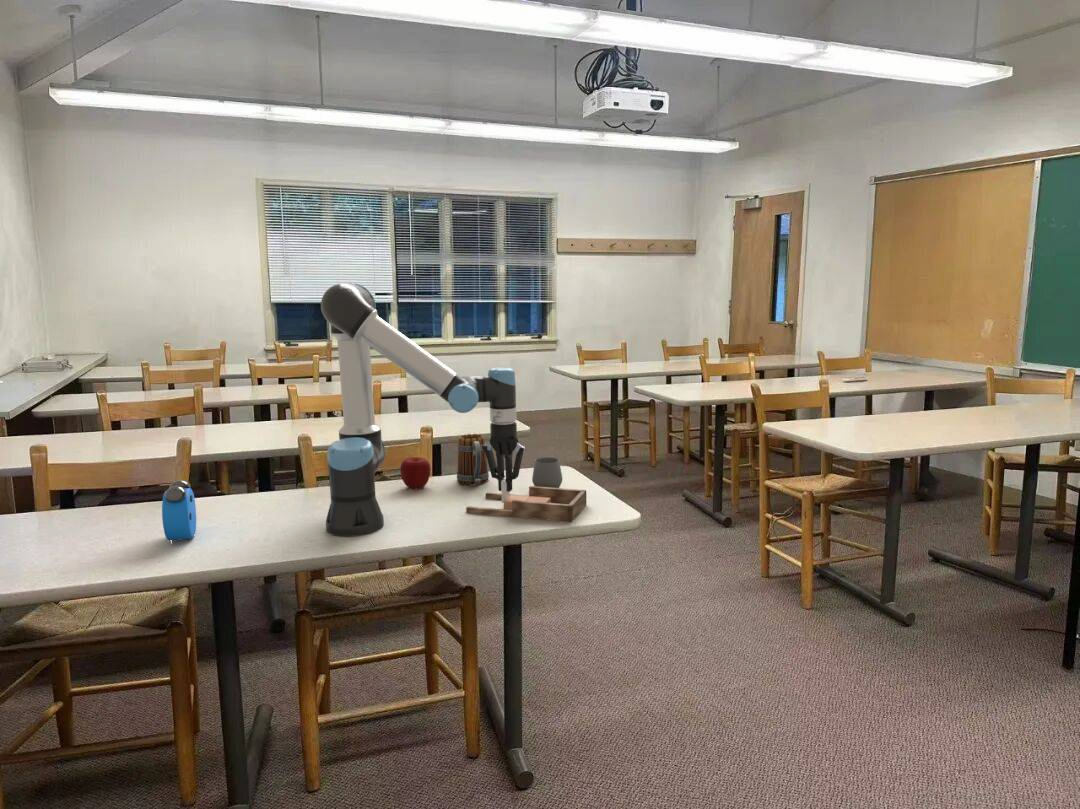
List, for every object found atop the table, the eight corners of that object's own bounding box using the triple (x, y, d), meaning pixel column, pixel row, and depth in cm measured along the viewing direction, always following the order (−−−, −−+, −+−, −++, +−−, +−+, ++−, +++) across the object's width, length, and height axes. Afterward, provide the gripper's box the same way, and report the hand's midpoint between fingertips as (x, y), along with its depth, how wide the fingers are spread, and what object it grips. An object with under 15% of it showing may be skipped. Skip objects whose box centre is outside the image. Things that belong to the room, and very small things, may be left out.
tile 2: (524, 512, 202) (524, 502, 202) (531, 506, 208) (531, 496, 207) (544, 514, 200) (544, 504, 200) (550, 507, 206) (550, 497, 205)
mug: (454, 478, 238) (452, 434, 236) (485, 475, 241) (483, 432, 239) (463, 491, 224) (461, 444, 221) (496, 487, 227) (494, 441, 224)
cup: (529, 495, 218) (529, 463, 216) (535, 486, 227) (534, 456, 225) (560, 496, 216) (559, 464, 214) (564, 487, 225) (564, 456, 223)
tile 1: (504, 511, 204) (503, 500, 203) (511, 504, 209) (511, 494, 209) (523, 512, 202) (523, 502, 201) (530, 506, 207) (530, 496, 207)
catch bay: (466, 512, 203) (465, 497, 202) (487, 496, 217) (486, 482, 216) (571, 522, 193) (571, 506, 192) (586, 505, 207) (586, 490, 206)
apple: (418, 493, 222) (416, 462, 220) (394, 489, 227) (393, 459, 225) (437, 485, 230) (435, 455, 228) (414, 482, 235) (412, 452, 233)
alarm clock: (174, 532, 191) (167, 478, 188) (199, 529, 193) (193, 475, 190) (165, 549, 179) (158, 491, 176) (192, 545, 181) (186, 488, 178)
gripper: (477, 423, 201) (480, 503, 205) (520, 425, 197) (522, 507, 201) (487, 418, 208) (489, 496, 212) (529, 420, 204) (531, 499, 208)
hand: (505, 501), depth 207 cm, fingers closed
